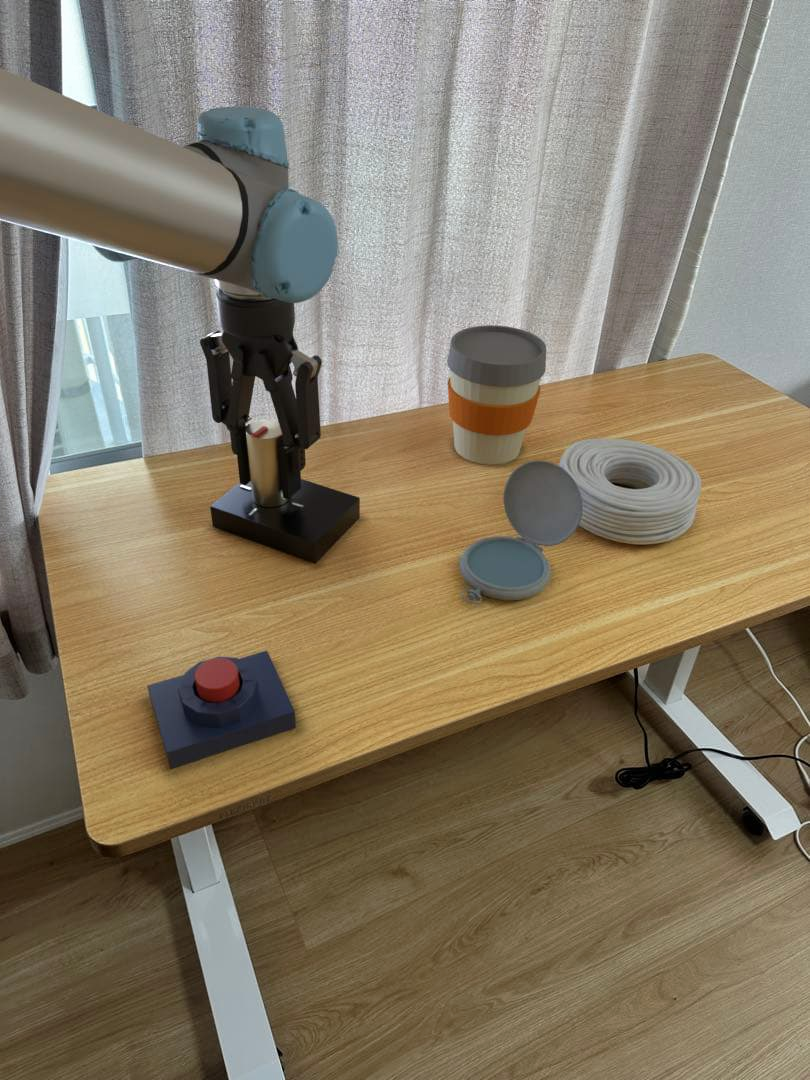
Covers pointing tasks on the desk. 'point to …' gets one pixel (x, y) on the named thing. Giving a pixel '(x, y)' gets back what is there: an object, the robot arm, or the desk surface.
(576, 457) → the cable
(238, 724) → the button block
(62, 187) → the robot arm
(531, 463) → the pocket watch
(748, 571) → the desk surface
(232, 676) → the red button
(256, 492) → the lock knob
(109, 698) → the desk surface
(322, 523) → the black dial base
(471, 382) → the reusable coffee cup
